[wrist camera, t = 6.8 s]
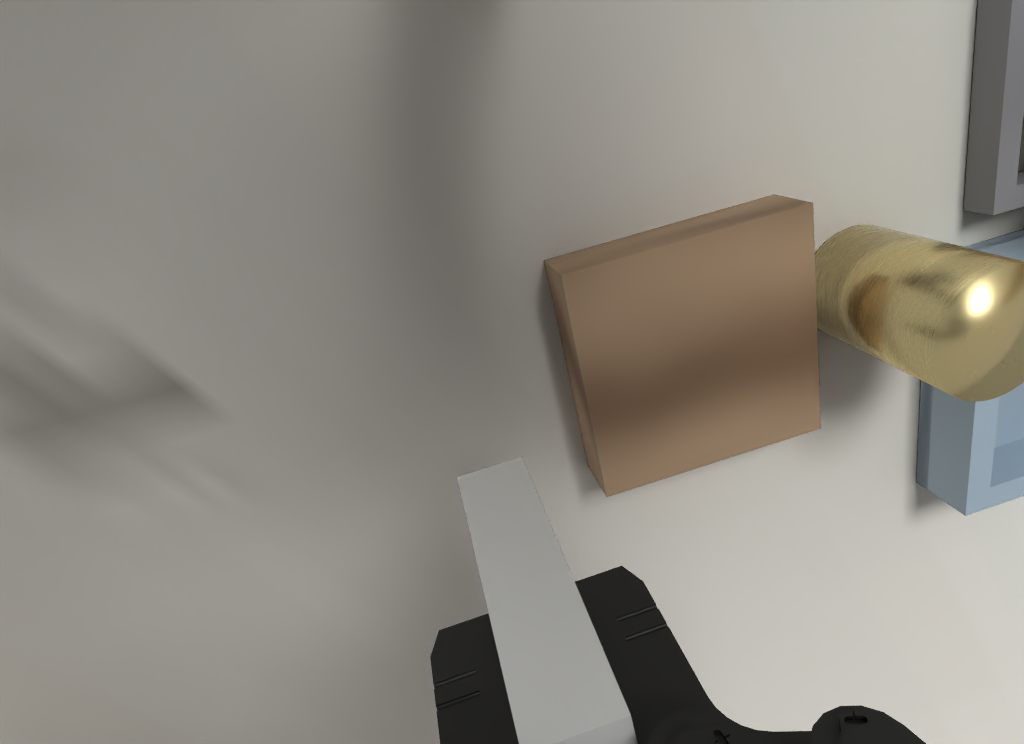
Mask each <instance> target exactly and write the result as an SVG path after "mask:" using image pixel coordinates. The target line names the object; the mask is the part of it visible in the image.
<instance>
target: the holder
mask: <svg viewBox="0 0 1024 744" xmlns="http://www.w3.org/2000/svg"><path fill="white" fill-rule="evenodd" d="M1023 116H1024V0H978V9H977V23H976V38H975V52H974V67H973V81H972V96H971V110H970V125H969V139H968V154H967V168H966V183H965V197H964V211H970V212H976V213H981V214H987V215H993V216H994V215H997V214H1000V213H1004V212H1007V211H1010V210H1014V209H1017V208H1020V207H1024V171H1021V172H1018V165H1019V156H1020V146H1021V136H1022V126H1023Z"/></svg>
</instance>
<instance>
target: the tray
mask: <svg viewBox="0 0 1024 744" xmlns="http://www.w3.org/2000/svg"><path fill="white" fill-rule="evenodd" d="M965 248H970V249H974V250H978V251H982V252H986V253H990V254H995V255H999V256H1003V257H1007V258H1011V259H1016V260H1020V261H1024V229H1023V230H1020V231H1016V232H1013V233H1010V234H1006V235H1003V236H1000V237H997V238H993V239H990V240H987V241H983V242H980V243H977V244H973V245H970V246H967V247H965ZM916 482H917V483H918V484H920V485H921V486H923V487H924V488H926V489H927V490H929V491H930V492H932V493H933V494H934V495H936V496H937V497H939V498H940V499H942V500H943V501H945V502H946V503H948V504H949V505H950V506H952V507H953V508H955V509H956V510H958V511H959V512H961V513H962V514H963V515H965V516H967V515H970V514H972V513H975V512H978V511H981V510H984V509H987V508H990V507H993V506H996V505H998V504H1001V503H1004V502H1007V501H1010V500H1013V499H1016V498H1019V497H1022V496H1024V382H1023V383H1022V384H1021V385H1019V386H1018V387H1016V388H1015V389H1013V390H1012V391H1010V392H1008V393H1006V394H1004V395H1002V396H999V397H997V398H994V399H991V400H987V401H980V402H970V401H964V400H961V399H958V398H956V397H954V396H952V395H950V394H948V393H946V392H944V391H942V390H940V389H938V388H936V387H934V386H932V385H930V384H928V383H926V382H924V381H922V380H921V393H920V415H919V437H918V458H917V480H916Z"/></svg>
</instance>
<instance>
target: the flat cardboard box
mask: <svg viewBox="0 0 1024 744" xmlns="http://www.w3.org/2000/svg"><path fill="white" fill-rule="evenodd" d="M544 262H545V267H546V271H547V276H548V281H549V285H550V290H551V295H552V299H553V304H554V308H555V313H556V318H557V322H558V327H559V332H560V336H561V341H562V346H563V350H564V355H565V360H566V364H567V369H568V374H569V378H570V383H571V388H572V392H573V397H574V402H575V406H576V411H577V416H578V420H579V425H580V430H581V434H582V439H583V444H584V448H585V453H586V458H587V462H588V467H589V468H590V470H591V472H592V473H593V475H594V477H595V478H596V480H597V482H598V483H599V485H600V487H601V488H602V490H603V492H604V493H605V495H606V497H609V496H612V495H615V494H618V493H621V492H624V491H627V490H630V489H633V488H637V487H640V486H643V485H646V484H649V483H652V482H655V481H658V480H661V479H665V478H668V477H671V476H674V475H677V474H680V473H683V472H686V471H689V470H692V469H696V468H699V467H702V466H705V465H708V464H711V463H714V462H717V461H720V460H724V459H727V458H730V457H733V456H736V455H739V454H742V453H745V452H748V451H752V450H755V449H758V448H761V447H764V446H767V445H770V444H773V443H776V442H780V441H783V440H786V439H789V438H792V437H795V436H798V435H801V434H804V433H808V432H811V431H814V430H817V429H820V428H821V420H820V391H819V363H818V335H817V306H816V278H815V250H814V222H813V203H811V202H806V201H802V200H797V199H792V198H788V197H783V196H778V195H771V196H767V197H764V198H760V199H757V200H753V201H750V202H746V203H743V204H739V205H736V206H732V207H729V208H725V209H722V210H718V211H715V212H711V213H708V214H704V215H701V216H697V217H694V218H690V219H687V220H683V221H680V222H676V223H673V224H670V225H666V226H663V227H659V228H656V229H652V230H649V231H645V232H642V233H638V234H635V235H631V236H628V237H624V238H621V239H617V240H614V241H610V242H607V243H603V244H600V245H596V246H593V247H589V248H586V249H582V250H579V251H575V252H572V253H568V254H565V255H561V256H558V257H554V258H551V259H547V260H544Z"/></svg>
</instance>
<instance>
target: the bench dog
mask: <svg viewBox="0 0 1024 744" xmlns="http://www.w3.org/2000/svg"><path fill="white" fill-rule="evenodd" d="M815 278H816V306H817V328H818V329H820V330H821V331H823V332H825V333H827V334H829V335H831V336H833V337H835V338H837V339H839V340H841V341H843V342H845V343H847V344H849V345H851V346H853V347H855V348H857V349H860V350H862V351H864V352H866V353H868V354H870V355H872V356H874V357H876V358H878V359H880V360H882V361H884V362H886V363H888V364H890V365H892V366H894V367H896V368H898V369H900V370H902V371H904V372H906V373H908V374H910V375H912V376H914V377H916V378H918V379H920V380H922V381H924V382H926V383H928V384H930V385H932V386H934V387H936V388H938V389H940V390H942V391H944V392H946V393H948V394H950V395H952V396H954V397H956V398H958V399H961V400H964V401H970V402H980V401H987V400H991V399H994V398H997V397H999V396H1002V395H1004V394H1006V393H1008V392H1010V391H1012V390H1013V389H1015V388H1016V387H1018V386H1019V385H1021V384H1022V383H1023V382H1024V261H1020V260H1016V259H1011V258H1007V257H1003V256H999V255H995V254H990V253H986V252H982V251H978V250H974V249H970V248H965V247H961V246H957V245H953V244H949V243H944V242H940V241H936V240H932V239H928V238H923V237H919V236H915V235H911V234H907V233H903V232H898V231H894V230H890V229H886V228H882V227H877V226H873V225H857V226H853V227H849V228H847V229H844V230H842V231H840V232H838V233H837V234H835V235H834V236H832V237H831V238H830V239H829V240H827V241H826V242H825V243H824V244H823V245H822V246H821V247H820V248H819V249H818V251H817V252H816V253H815Z"/></svg>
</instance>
